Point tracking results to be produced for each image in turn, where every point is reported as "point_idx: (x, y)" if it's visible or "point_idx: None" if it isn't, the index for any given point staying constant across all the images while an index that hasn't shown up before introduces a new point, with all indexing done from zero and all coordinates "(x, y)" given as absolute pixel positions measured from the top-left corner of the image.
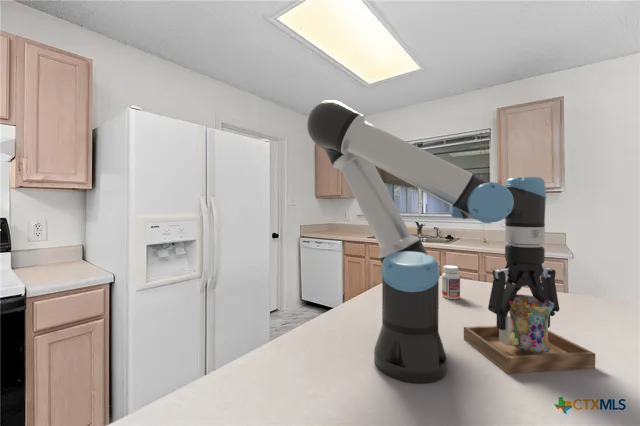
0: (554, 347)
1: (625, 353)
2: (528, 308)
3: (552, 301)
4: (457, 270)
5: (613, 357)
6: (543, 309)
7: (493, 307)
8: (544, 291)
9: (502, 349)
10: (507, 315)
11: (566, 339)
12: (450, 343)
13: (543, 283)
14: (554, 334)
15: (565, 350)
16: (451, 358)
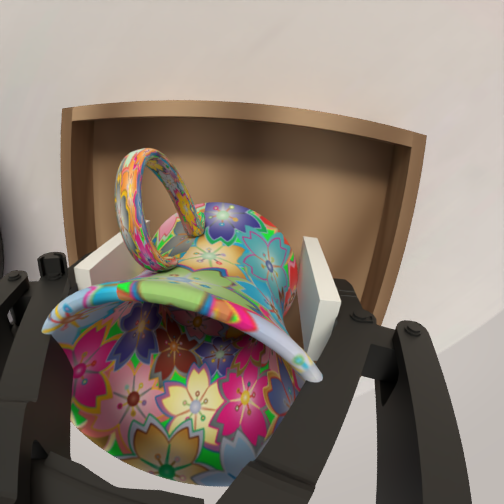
0: (360, 252)
1: (498, 300)
2: (114, 444)
3: (377, 416)
4: None
5: (457, 313)
6: (175, 471)
7: (11, 310)
8: (409, 423)
9: (153, 224)
10: (183, 197)
11: (391, 293)
12: (41, 141)
13: (412, 494)
14: (395, 249)
15: (366, 283)
16: (18, 227)
